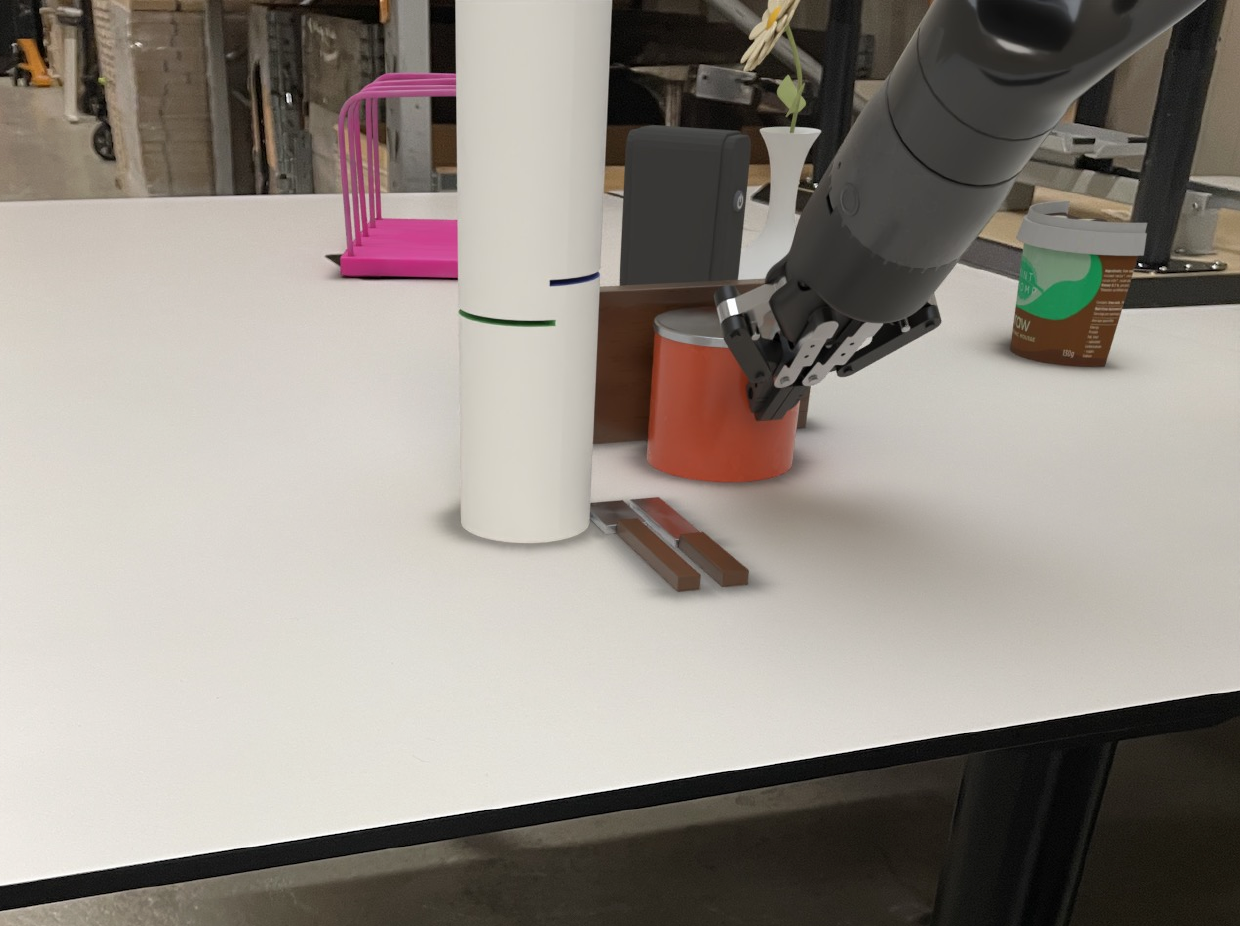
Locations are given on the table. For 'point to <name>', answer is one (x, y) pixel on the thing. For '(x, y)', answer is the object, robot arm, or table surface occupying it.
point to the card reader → (683, 205)
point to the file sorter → (382, 239)
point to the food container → (1072, 285)
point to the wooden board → (642, 351)
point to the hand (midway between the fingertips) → (763, 406)
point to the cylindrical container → (529, 260)
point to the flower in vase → (778, 148)
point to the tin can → (709, 406)
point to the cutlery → (676, 532)
